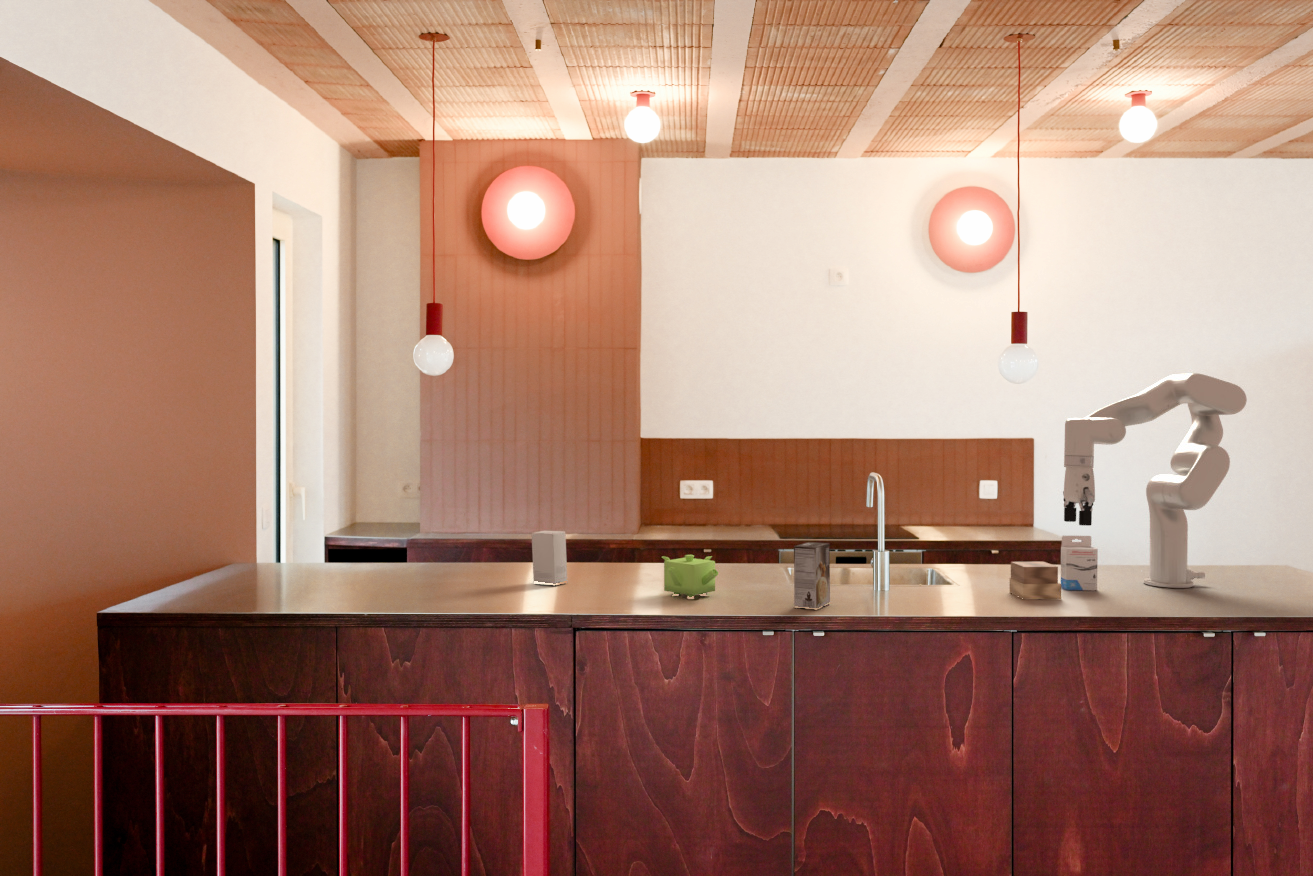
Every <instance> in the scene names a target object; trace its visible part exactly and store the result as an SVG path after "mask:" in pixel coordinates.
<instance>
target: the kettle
mask: <svg viewBox="0 0 1313 876" xmlns="http://www.w3.org/2000/svg"><path fill="white" fill-rule="evenodd" d="M694 557H695V555H693V554H685V555H684V557H680V558H673V559H670V557H668V556H665V555H663V556H661V558H662V559H663V560H664V562H663V575H664V576H663V577H664V578H663V579H664V580H663V582H664V586H663V587H664V589H663V590H664V592H669V593H674V594H680V595H686V597H687V596H689V597H692V596H697V595H699V594H703V593H706V594H708V593H711V592H716V577H717V576H718V575H719V572H718V570H717V569H716V561H715V560H711V559H712V557H713V556H712V555H711V556H706V557H705V558H704V559H702V558H696V557H695V558H694Z"/></svg>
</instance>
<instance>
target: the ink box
mask: <svg viewBox="0 0 1313 876" xmlns="http://www.w3.org/2000/svg"><path fill="white" fill-rule="evenodd" d="M1073 540H1078V541H1073ZM1079 540H1080V541H1079ZM1098 558H1099V557H1098V548H1096V547H1093V546H1092V536H1091V535H1061V546H1060V584H1061V589H1063V590H1066V591H1095V590H1097V591H1098Z"/></svg>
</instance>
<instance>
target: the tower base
mask: <svg viewBox="0 0 1313 876" xmlns="http://www.w3.org/2000/svg"><path fill="white" fill-rule="evenodd" d="M1010 592H1011V593H1013V594H1014V595H1013V594H1012V595H1013V596H1015V595H1016V596H1015V597H1017V596H1019V597H1021V598H1023V599H1061V600H1062V587H1061V582H1058V584H1023V583H1021V582H1018V581H1016V580H1014V579H1011V577H1009V593H1010ZM1011 593H1010V594H1011ZM1019 597H1018V598H1019ZM1021 598H1020V599H1021ZM1023 599H1022V600H1023Z"/></svg>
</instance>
